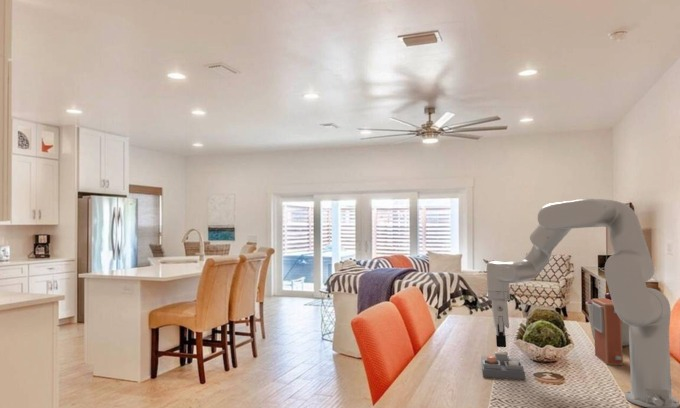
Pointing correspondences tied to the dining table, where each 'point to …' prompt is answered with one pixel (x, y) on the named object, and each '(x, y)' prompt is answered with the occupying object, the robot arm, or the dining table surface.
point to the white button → (513, 362)
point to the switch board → (503, 369)
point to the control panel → (607, 332)
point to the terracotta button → (491, 359)
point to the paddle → (501, 356)
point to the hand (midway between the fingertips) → (501, 346)
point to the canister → (624, 326)
